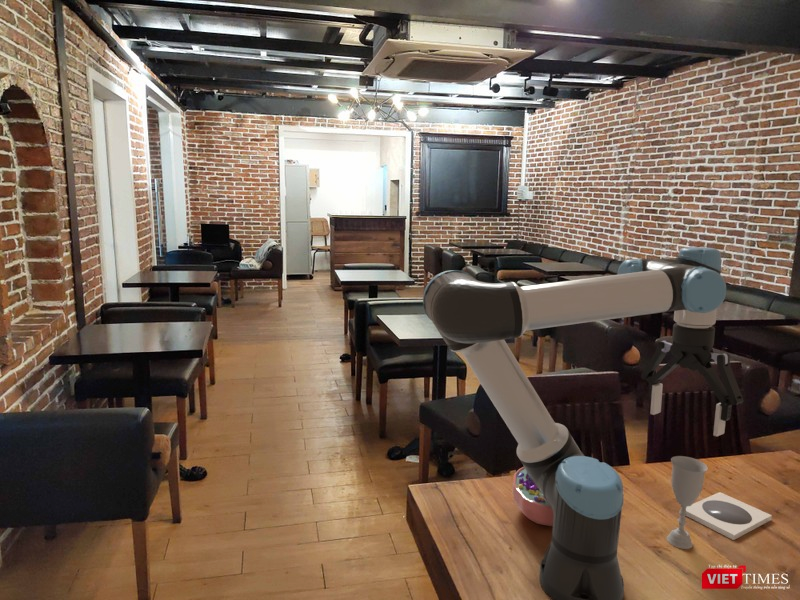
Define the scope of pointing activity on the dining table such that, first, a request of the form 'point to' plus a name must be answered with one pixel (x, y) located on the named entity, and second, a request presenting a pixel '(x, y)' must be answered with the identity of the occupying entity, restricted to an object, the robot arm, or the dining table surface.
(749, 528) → the serving tile
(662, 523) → the dining table surface
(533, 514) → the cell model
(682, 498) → the chalice
